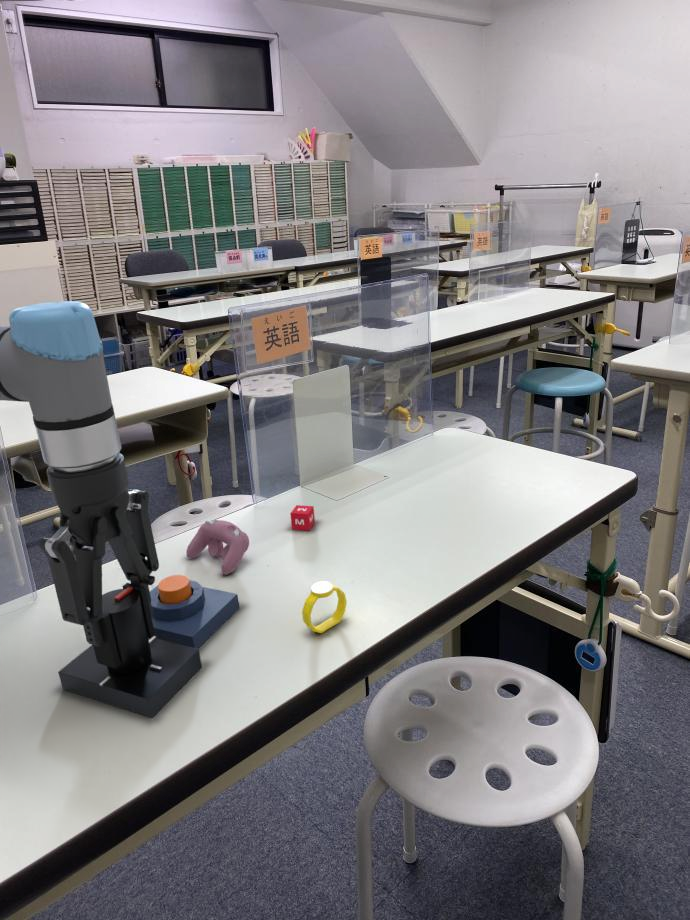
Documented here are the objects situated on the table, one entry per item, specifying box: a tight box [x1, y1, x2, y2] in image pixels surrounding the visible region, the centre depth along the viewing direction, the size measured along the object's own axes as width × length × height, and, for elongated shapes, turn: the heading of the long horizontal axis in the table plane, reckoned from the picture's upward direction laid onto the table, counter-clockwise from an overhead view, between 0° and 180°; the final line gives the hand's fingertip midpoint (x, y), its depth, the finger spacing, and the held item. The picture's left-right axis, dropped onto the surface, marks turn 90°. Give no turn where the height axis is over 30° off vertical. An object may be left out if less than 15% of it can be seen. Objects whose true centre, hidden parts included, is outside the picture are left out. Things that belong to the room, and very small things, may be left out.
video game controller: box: [186, 519, 250, 576], centre depth 103 cm, size 10×5×7 cm, turn 49°
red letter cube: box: [290, 504, 316, 531], centre depth 112 cm, size 3×3×3 cm
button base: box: [149, 579, 240, 649], centre depth 89 cm, size 12×10×4 cm
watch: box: [301, 580, 348, 634], centre depth 85 cm, size 6×3×6 cm, turn 129°
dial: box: [102, 587, 151, 674], centre depth 77 cm, size 5×5×8 cm
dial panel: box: [57, 636, 203, 719], centre depth 79 cm, size 13×9×3 cm
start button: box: [157, 574, 192, 604], centre depth 88 cm, size 4×4×2 cm
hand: (126, 648), depth 78 cm, fingers closed on dial, 5 cm apart
